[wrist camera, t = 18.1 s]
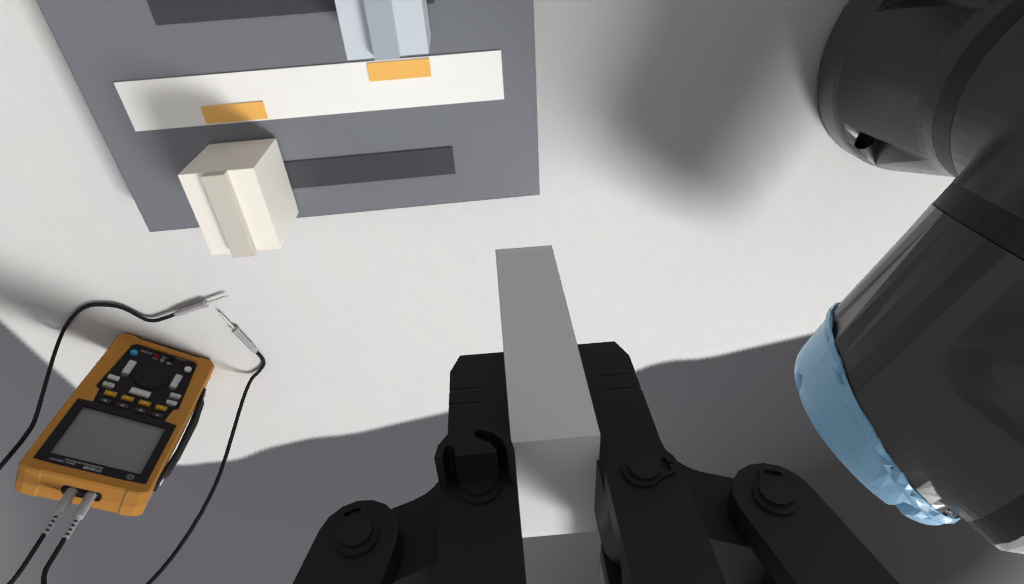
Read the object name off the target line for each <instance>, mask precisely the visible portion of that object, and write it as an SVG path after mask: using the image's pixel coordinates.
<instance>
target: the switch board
mask: <svg viewBox="0 0 1024 584" xmlns="http://www.w3.org/2000/svg"><path fill="white" fill-rule="evenodd" d="M36 1H37V3H38V5H39V7H40V9H41V11H42V13H43V15H44V17H45V19H46V21H47V23H48V25H49V27H50V29H51V31H52V33H53V35H54V37H55V39H56V41H57V43H58V45H59V48H60V50H61V52H62V54H63V56H64V58H65V60H66V62H67V64H68V66H69V68H70V70H71V72H72V74H73V76H74V78H75V80H76V82H77V84H78V86H79V88H80V90H81V92H82V94H83V96H84V98H85V101H86V103H87V105H88V107H89V109H90V111H91V113H92V115H93V117H94V119H95V121H96V123H97V125H98V127H99V129H100V131H101V133H102V135H103V137H104V139H105V141H106V143H107V145H108V147H109V149H110V152H111V154H112V156H113V158H114V160H115V162H116V164H117V166H118V168H119V170H120V172H121V174H122V176H123V178H124V180H125V182H126V184H127V186H128V188H129V190H130V192H131V194H132V196H133V198H134V200H135V202H136V205H137V207H138V209H139V211H140V213H141V215H142V217H143V219H144V221H145V223H146V225H147V227H148V229H149V231H150V232H155V231H166V230H176V229H187V228H197V227H200V226H199V224H198V221H197V219H196V217H195V214H194V212H193V210H192V207H191V205H190V203H189V200H188V198H187V196H186V193H185V191H184V189H183V186H182V184H181V182H180V179H179V177H178V174H179V173H180V172H181V171H182V170H183V169H184V168H185V167H186V166H187V165H188V164H189V163H190V162H192V161H193V160H194V159H195V158H196V157H197V156H198V155H199V154H200V153H201V152H202V151H203V150H204V149H205V148H206V147H207V146H208V145H209V144H216V143H227V142H239V141H250V140H261V139H272V138H276V140H277V143H278V146H279V149H280V153H281V156H282V159H283V162H284V166H285V169H286V172H287V175H288V179H289V182H290V185H291V188H292V191H293V195H294V198H295V201H296V204H297V208H298V211H299V213H298V215H297V217H296V218H301V217H311V216H322V215H332V214H343V213H353V212H363V211H374V210H384V209H395V208H405V207H415V206H426V205H436V204H447V203H457V202H467V201H478V200H488V199H499V198H509V197H520V196H530V195H540V191H539V160H538V130H537V100H536V70H535V39H534V9H533V0H426V1H427V9H428V16H429V24H430V31H431V40H430V48H429V54H417V55H405V56H400V59H389V60H377V61H375V59H374V58H370V59H358V60H347V56H346V51H345V46H344V42H343V37H342V32H341V28H340V23H339V19H338V14H337V9H336V5H335V0H36Z"/></svg>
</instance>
